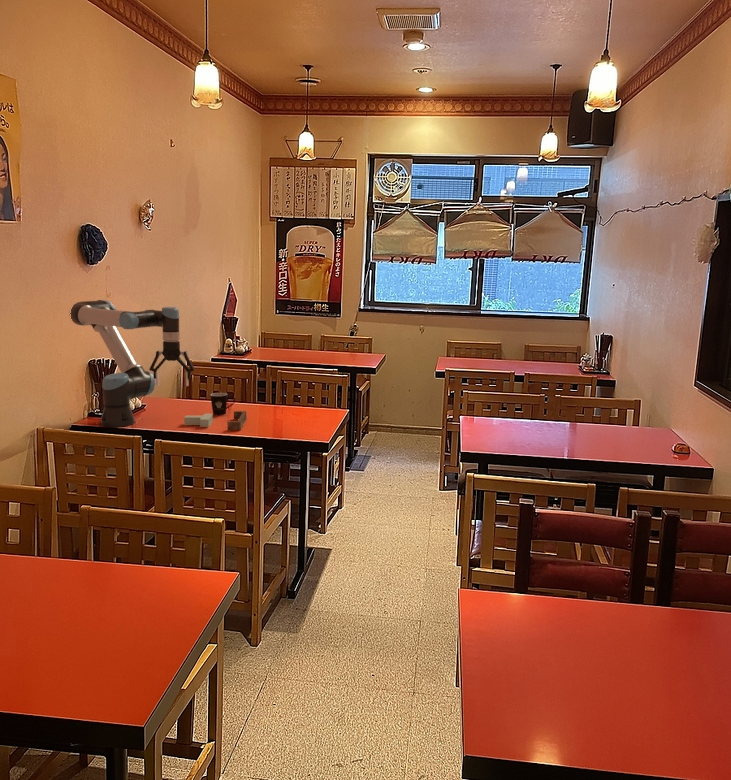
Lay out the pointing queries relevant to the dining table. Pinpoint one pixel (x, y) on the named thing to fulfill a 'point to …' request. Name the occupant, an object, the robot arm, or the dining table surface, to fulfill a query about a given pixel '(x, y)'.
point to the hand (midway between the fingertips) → (172, 385)
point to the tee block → (199, 420)
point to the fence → (237, 424)
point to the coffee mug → (220, 403)
